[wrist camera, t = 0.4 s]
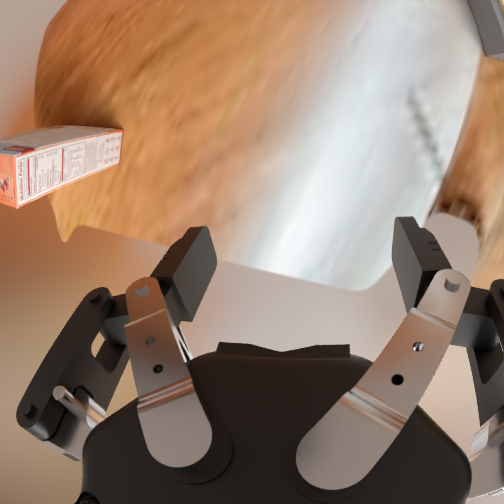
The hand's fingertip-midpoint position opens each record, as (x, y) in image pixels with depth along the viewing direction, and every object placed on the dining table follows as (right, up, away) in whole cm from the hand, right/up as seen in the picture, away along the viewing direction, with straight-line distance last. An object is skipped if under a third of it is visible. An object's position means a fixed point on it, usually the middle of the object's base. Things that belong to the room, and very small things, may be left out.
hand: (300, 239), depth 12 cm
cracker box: (-28, +17, +26) cm, 42 cm away
